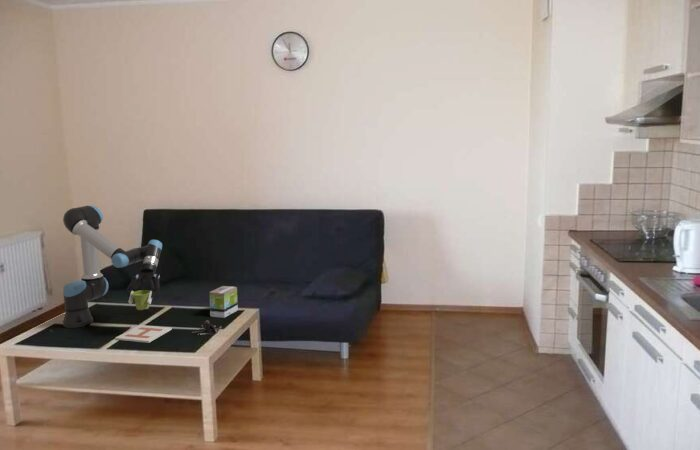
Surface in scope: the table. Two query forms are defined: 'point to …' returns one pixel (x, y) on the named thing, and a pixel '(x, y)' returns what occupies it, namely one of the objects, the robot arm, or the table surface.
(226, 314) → the tea box
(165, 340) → the table surface
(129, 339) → the letter board
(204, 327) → the stuffed animal
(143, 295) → the plant pot
